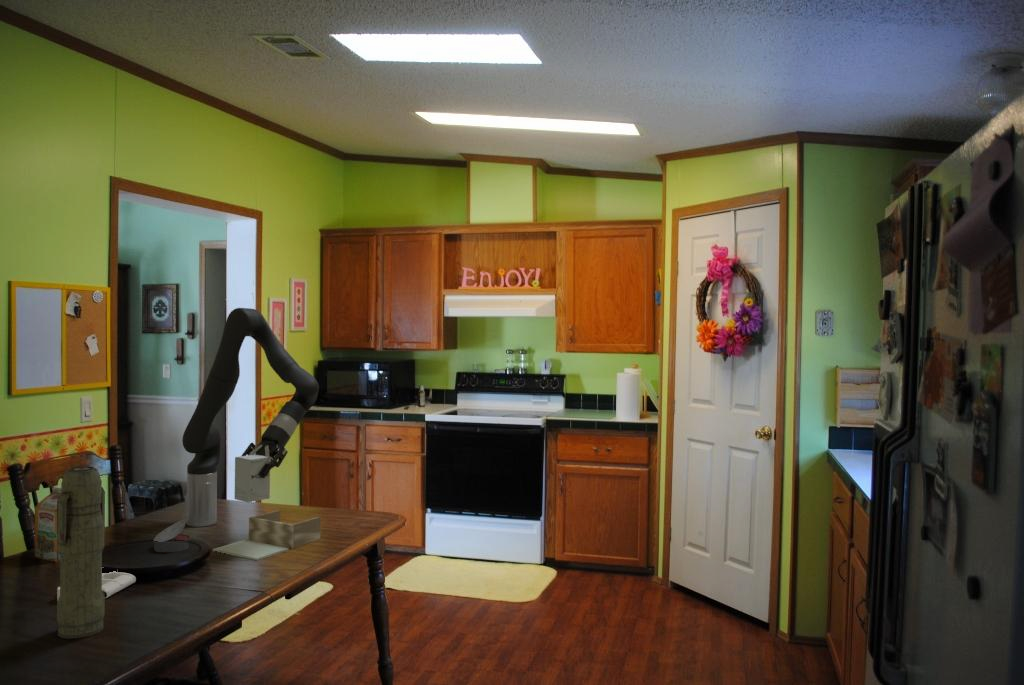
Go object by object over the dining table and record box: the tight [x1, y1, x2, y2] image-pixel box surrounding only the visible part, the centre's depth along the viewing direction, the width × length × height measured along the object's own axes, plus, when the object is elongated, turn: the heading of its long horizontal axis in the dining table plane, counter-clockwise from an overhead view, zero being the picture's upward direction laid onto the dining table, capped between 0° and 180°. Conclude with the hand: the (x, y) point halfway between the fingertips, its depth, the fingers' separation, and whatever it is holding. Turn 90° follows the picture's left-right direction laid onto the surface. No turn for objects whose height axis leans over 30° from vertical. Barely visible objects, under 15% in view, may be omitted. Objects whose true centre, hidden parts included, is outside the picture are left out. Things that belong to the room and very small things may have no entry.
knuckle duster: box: [56, 571, 137, 602], centre depth 190 cm, size 3×18×15 cm
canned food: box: [153, 518, 191, 542], centre depth 227 cm, size 11×10×10 cm
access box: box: [248, 509, 321, 550], centre depth 237 cm, size 18×12×7 cm, turn 62°
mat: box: [212, 539, 289, 561], centre depth 226 cm, size 18×12×1 cm, turn 62°
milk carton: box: [34, 486, 61, 563], centre depth 219 cm, size 11×11×19 cm
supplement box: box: [234, 454, 271, 503], centre depth 226 cm, size 7×7×13 cm
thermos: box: [56, 465, 106, 640], centre depth 164 cm, size 9×12×35 cm
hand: (250, 475), depth 225 cm, fingers closed on supplement box, 8 cm apart
